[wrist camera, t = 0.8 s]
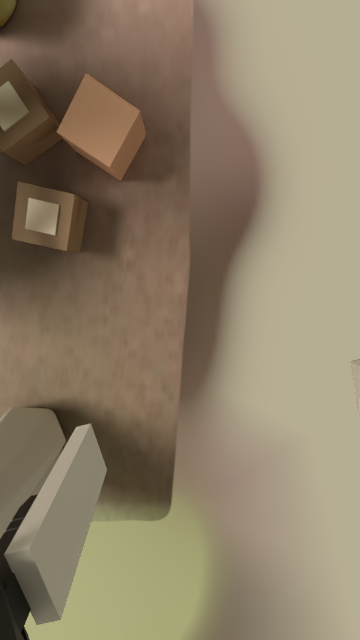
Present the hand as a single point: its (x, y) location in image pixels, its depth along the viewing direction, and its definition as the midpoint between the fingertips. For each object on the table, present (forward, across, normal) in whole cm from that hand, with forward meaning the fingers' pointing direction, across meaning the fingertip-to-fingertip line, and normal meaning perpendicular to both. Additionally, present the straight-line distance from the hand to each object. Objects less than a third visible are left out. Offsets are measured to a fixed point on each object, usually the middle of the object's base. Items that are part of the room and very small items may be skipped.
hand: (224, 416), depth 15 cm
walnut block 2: (+26, -13, +15) cm, 33 cm away
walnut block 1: (+26, -13, +26) cm, 39 cm away
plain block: (+26, -4, +22) cm, 34 cm away
